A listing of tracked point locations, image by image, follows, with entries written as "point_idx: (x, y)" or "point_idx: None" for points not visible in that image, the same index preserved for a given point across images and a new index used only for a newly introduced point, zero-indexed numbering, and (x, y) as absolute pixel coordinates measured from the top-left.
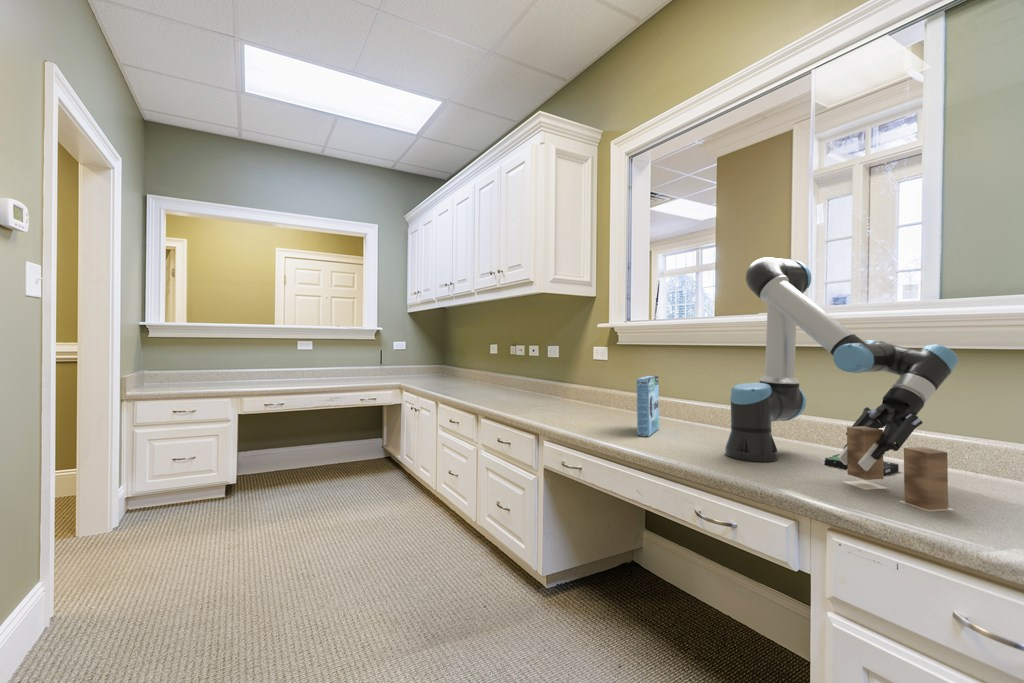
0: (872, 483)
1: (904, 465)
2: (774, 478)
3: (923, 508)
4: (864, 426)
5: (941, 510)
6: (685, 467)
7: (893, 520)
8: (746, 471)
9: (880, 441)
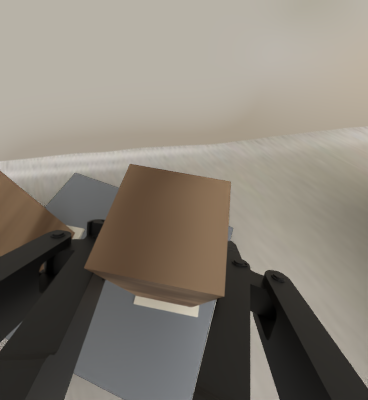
0: (171, 308)
1: (28, 195)
2: (275, 190)
3: None
4: (216, 288)
5: None
6: (341, 129)
7: (72, 171)
8: (321, 183)
9: (92, 220)
